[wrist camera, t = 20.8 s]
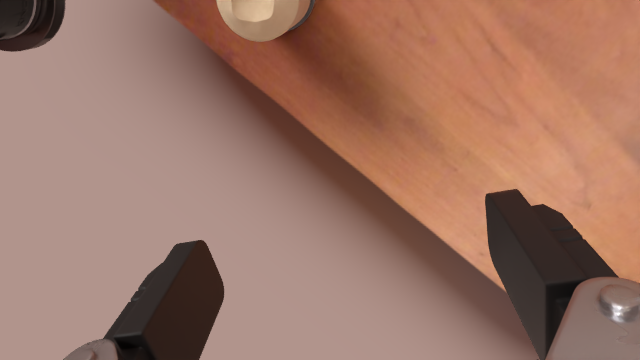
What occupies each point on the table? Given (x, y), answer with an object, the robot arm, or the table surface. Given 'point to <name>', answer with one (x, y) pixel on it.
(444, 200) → the table surface
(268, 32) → the candle
